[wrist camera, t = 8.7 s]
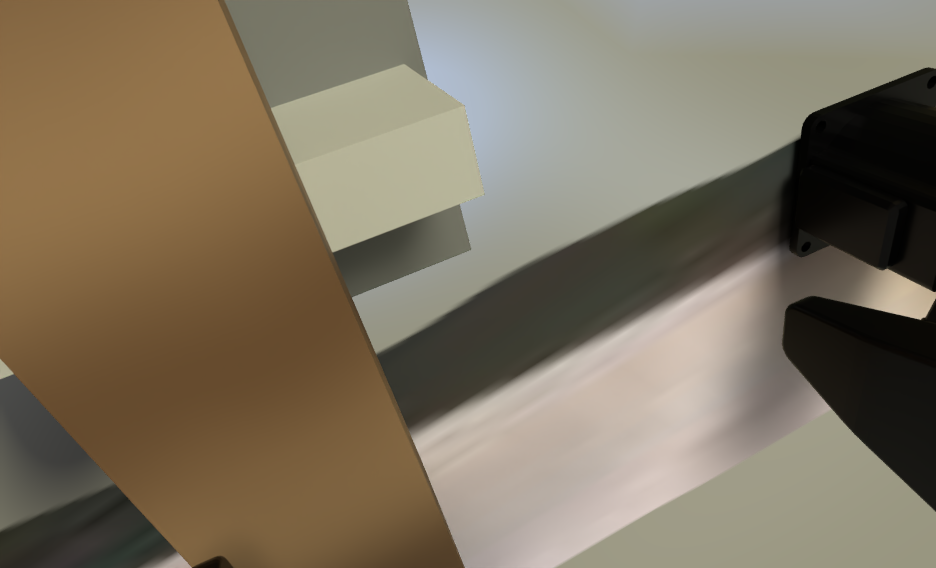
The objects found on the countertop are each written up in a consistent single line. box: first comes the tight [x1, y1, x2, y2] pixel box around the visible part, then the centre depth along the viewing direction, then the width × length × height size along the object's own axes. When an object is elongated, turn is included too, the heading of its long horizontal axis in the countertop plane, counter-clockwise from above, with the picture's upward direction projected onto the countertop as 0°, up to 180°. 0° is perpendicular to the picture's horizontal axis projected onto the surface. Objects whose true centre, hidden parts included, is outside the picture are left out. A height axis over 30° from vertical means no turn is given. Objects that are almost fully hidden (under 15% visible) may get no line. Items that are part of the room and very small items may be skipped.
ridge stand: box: [0, 0, 484, 379], centre depth 14 cm, size 12×10×6 cm
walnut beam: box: [0, 0, 465, 568], centre depth 10 cm, size 16×4×4 cm, turn 14°
